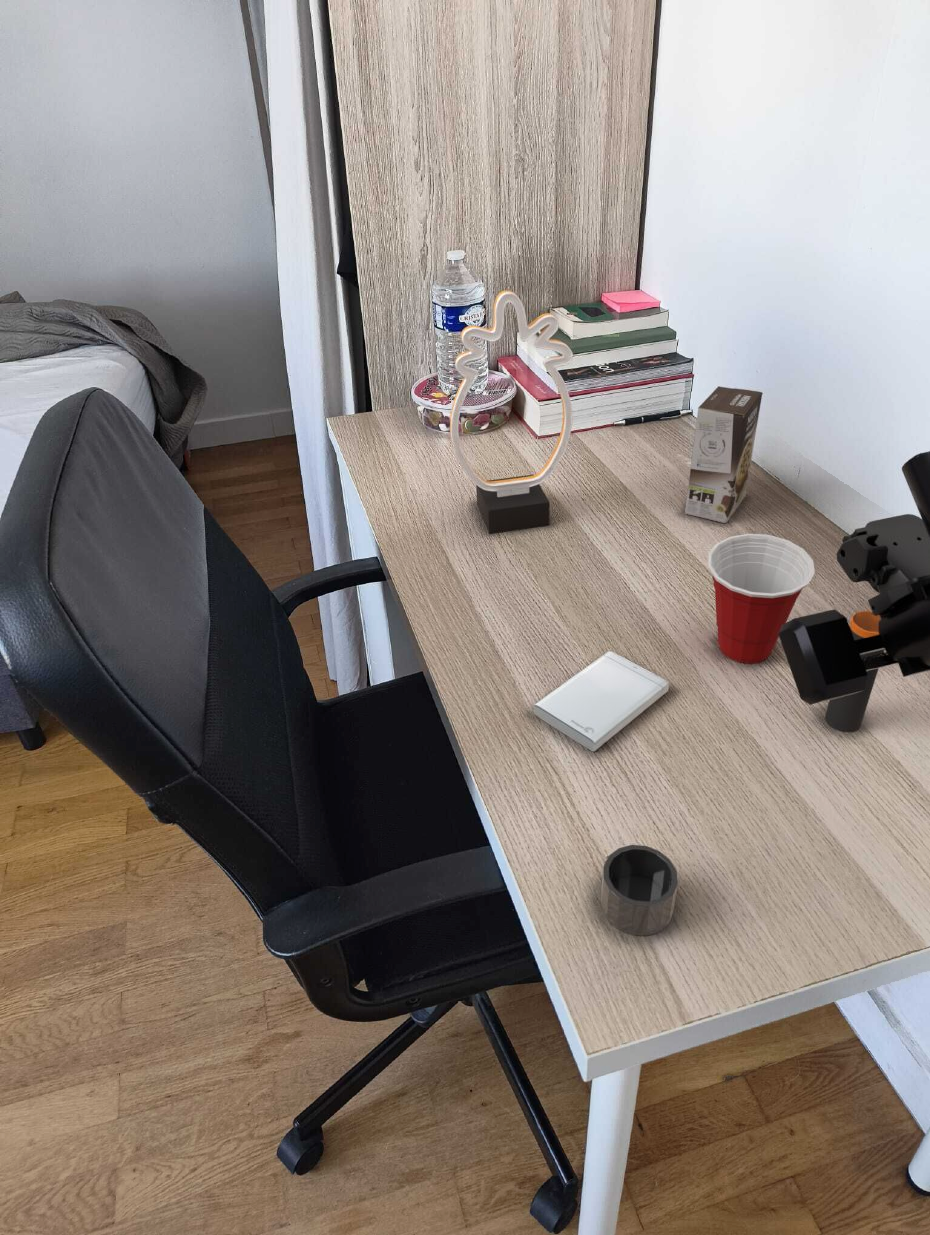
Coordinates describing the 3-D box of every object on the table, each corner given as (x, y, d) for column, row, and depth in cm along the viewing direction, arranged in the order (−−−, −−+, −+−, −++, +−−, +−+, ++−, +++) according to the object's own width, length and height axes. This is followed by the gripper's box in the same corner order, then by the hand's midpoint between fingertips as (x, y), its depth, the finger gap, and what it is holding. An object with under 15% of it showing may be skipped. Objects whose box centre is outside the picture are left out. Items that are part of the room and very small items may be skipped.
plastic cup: (685, 667, 93) (697, 576, 86) (705, 613, 101) (718, 526, 94) (788, 690, 89) (809, 597, 82) (800, 632, 97) (821, 543, 90)
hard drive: (594, 741, 82) (669, 680, 89) (533, 703, 87) (608, 648, 94) (594, 753, 83) (668, 692, 90) (533, 714, 88) (607, 659, 95)
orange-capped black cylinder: (862, 713, 86) (893, 615, 79) (860, 736, 83) (891, 636, 76) (826, 705, 87) (853, 607, 80) (822, 727, 85) (850, 628, 77)
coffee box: (727, 524, 117) (744, 415, 108) (683, 514, 120) (696, 407, 111) (747, 496, 124) (765, 390, 114) (704, 487, 126) (718, 383, 117)
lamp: (559, 493, 127) (563, 274, 109) (576, 521, 120) (583, 293, 101) (450, 508, 125) (435, 287, 107) (461, 537, 118) (447, 307, 99)
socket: (685, 924, 68) (690, 894, 65) (618, 944, 66) (621, 914, 64) (653, 867, 72) (657, 837, 70) (590, 885, 71) (592, 854, 69)
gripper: (1043, 475, 59) (904, 553, 74) (810, 522, 56) (713, 594, 71) (1111, 624, 57) (953, 673, 71) (870, 683, 53) (756, 722, 68)
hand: (844, 662), depth 70 cm, fingers open, 9 cm apart
